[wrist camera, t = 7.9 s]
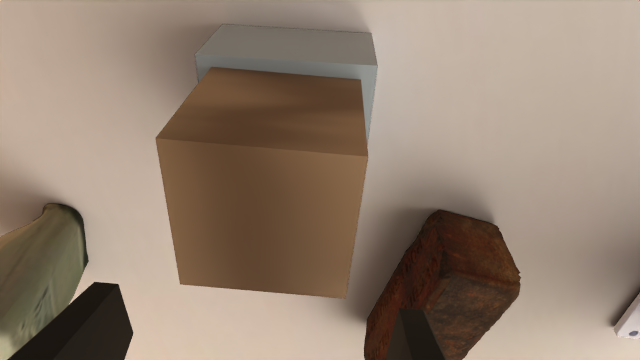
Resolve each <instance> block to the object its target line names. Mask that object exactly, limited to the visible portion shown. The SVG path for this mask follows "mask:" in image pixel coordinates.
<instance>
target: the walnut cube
mask: <svg viewBox="0 0 640 360" xmlns="http://www.w3.org/2000/svg"><path fill="white" fill-rule="evenodd" d="M156 144H157V150H158V156H159V162H160V168H161V174H162V180H163V185H164V191H165V197H166V203H167V209H168V215H169V221H170V227H171V233H172V239H173V245H174V250H175V256H176V262H177V268H178V274H179V280H180V284H183V285H194V286H206V287H217V288H229V289H240V290H252V291H263V292H275V293H286V294H298V295H310V296H321V297H333V298H344V299H346V292H347V286H348V280H349V274H350V267H351V261H352V255H353V249H354V242H355V236H356V230H357V224H358V218H359V211H360V205H361V199H362V193H363V186H364V180H365V174H366V168H367V161H368V149H367V138H366V127H365V116H364V106H363V95H362V84H361V80H359V79H348V78H336V77H325V76H313V75H302V74H290V73H279V72H267V71H256V70H245V69H233V68H222V67H211V68H210V69H209V70H208V72H207V73H206V74H205V76H204V77H203V78H202V79H201V81H200V82H199V83H198V85H197V86H196V87H195V88H194V90H193V91H192V92H191V94H190V95H189V96H188V97H187V99H186V100H185V101H184V102H183V104H182V105H181V106H180V108H179V109H178V110H177V111H176V113H175V114H174V115H173V117H172V118H171V119H170V120H169V122H168V123H167V124H166V126H165V127H164V128H163V129H162V131H161V132H160V133H159V134H158V136H157V137H156Z"/></svg>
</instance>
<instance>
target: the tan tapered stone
mask: <svg viewBox="0 0 640 360" xmlns="http://www.w3.org/2000/svg"><path fill="white" fill-rule="evenodd" d="M88 261H89V260H88V255H87V251H86V240H85V231H84V223H83V219H82V217H81V215H80V214H79V213H78V212H77V211H76V210H74V209H72V208H70V207H67V206H63V205H60V204H47V205H46V206H45V207H44V208H43V213H42V216H41V217H39V218H38V219H36V220H34V221H33V222H32V223H31V224H28V225H26V226H24V227H22V228H19V229H17V230H14V231H12V232H9V233H7V234H5V235H3V236H2V237H0V360H7V359H8V358H10V357H11V356H12V355H13V354H14V353H15V352H17V351H18V350H19V349H20V348H21V347H22V346H23V345H25V344H26V343H27V342H28V341H29V340H30V339H31V338H33V337H34V336H35V335H36V334H37V333H38V332H39V331H41V330H42V329H43V328H44V327H45V326H46V325H47V324H48V323H49V322H51V321H52V320H53V319H54V318H55V317H56V316H57V315H58V314H59V313H61V312H62V311H63V310H64V309H65V308H66V307H67V306H68V305H69V303H70V301H71V300H72V298H73V296H74V294H75V291H76V289H77V286H78V284H79V282H80V279H81V277H82V274H83V272H84V269H85V267H86V265H87V263H88Z"/></svg>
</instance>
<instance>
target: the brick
mask: <svg viewBox="0 0 640 360" xmlns="http://www.w3.org/2000/svg"><path fill="white" fill-rule="evenodd" d="M519 273H520V272H519V270H518V269H517V267H516V265H515V263H514V260H513V258H512V256H511V254H510V252H509V250H508V248H507V246H506V243H505V242H504V240H503V237H502V234H501V232H500V231H499V228H498V226H496V225H494V224H491V223H487V222H484V221H480V220H477V219H473V218H469V217H465V216H461V215H458V214H454V213H450V212H446V211H442V210H438V211H437V212H435V213H433V214H432V215H431V216H430V217H429V218H428V219H427V221H426V223H425V225H424V226H423V228H422V230H421V231H420V233H419V235H418V237H417V239H416V240H415V242H414V243H413V245H412V246H411V247H410V248H409V249H408V250H407V251H406V253H405V255H404V256H403V258H402V260H401V262H400V263H399V265H398V267H397V269H396V270H395V272H394V274H393V276H392V277H391V279H390V281H389V282H388V284H387V286H386V288H385V290H384V291H383V293H382V295H381V296H380V298H379V300H378V301H377V303H376V305H375V307H374V309H373V310H372V312H371V314H370V316H369V317H368V319H367V327H366V336H365V344H364V358H365V360H387V359H386V355H387V351H388V347H389V343H390V340H391V336H392V332H393V329H394V325H395V321H396V317H397V314H398V310H399V308H403V309H415V310H423V311H424V312H425V313H426V314H427V317H428V319H429V322H430V324H431V326H432V329H433V331H434V333H435V335H436V337H437V340H438V342H439V344H440V346H441V348H442V350H443V352H444V354H445V356H446V358H447V360H462V359H463V358H465V356H466V355H467V353H468V351H469V350H470V349H471V348H472V347H473V346H474V345H475V344H476V343H477V342H478V341H479V340H480V339H481V337H482V336H483V335H484V334H485V332H487V331H488V330H490V327H492V326H493V325H494V324H495V322H496V321H497V320H499V319H500V317H501V316H502V314H503V313H504V312H505V311H506V310H507V309H508V308H509V307H510V305H511V304H512V303H513V302H514V300H515V299H516V298H517V297H518V295H519V291H520V282H519V281H520V278H521V277H520V276H519V275H518V274H519Z"/></svg>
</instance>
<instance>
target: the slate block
mask: <svg viewBox="0 0 640 360" xmlns="http://www.w3.org/2000/svg"><path fill="white" fill-rule="evenodd" d="M195 59H196V67H197V75H198V83H199V82H200V81H201V79H202V78H203V77H204V76H205V74H206V73H207V72H208V70H209V69H210V68H211V67H222V68H233V69H245V70H256V71H267V72H279V73H290V74H302V75H313V76H325V77H336V78H348V79H359V80H361V84H362V95H363V106H364V116H365V127H366V138H367V145H368V137H369V130H370V122H371V114H372V106H373V99H374V91H375V83H376V75H377V68H378V65H377V60H376V54H375V49H374V44H373V39H372V33H358V32H342V31H326V30H310V29H294V28H278V27H262V26H246V25H230V24H222V25H221V26H220V28H219V29H218V30H217V31H216V32H215V33H214V34H213V35H212V36H211V37H210V38H209V40H208V41H207V42H206V43H205V44H204V45H203V46H202V47H201V48H200V49H199V50H198V52H197V53H196V54H195Z"/></svg>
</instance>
